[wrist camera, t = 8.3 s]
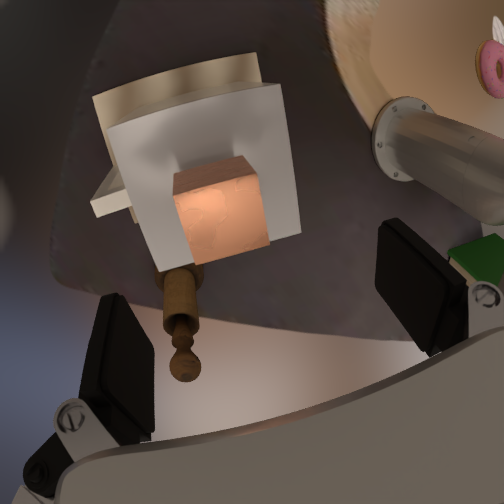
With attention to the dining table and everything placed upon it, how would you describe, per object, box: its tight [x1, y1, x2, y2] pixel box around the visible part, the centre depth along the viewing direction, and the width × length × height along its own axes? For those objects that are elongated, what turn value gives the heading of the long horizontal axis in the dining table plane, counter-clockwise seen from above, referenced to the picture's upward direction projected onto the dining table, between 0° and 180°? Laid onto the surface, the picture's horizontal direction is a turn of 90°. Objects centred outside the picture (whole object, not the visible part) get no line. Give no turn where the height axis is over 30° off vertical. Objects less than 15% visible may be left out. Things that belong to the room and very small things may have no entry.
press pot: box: [90, 81, 301, 272], centre depth 26 cm, size 15×11×15 cm
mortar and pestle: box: [155, 262, 204, 382], centre depth 34 cm, size 7×6×18 cm
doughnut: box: [475, 39, 504, 99], centre depth 31 cm, size 11×11×4 cm
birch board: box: [92, 52, 262, 223], centre depth 32 cm, size 18×16×1 cm
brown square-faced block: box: [173, 155, 270, 265], centre depth 23 cm, size 8×8×19 cm
